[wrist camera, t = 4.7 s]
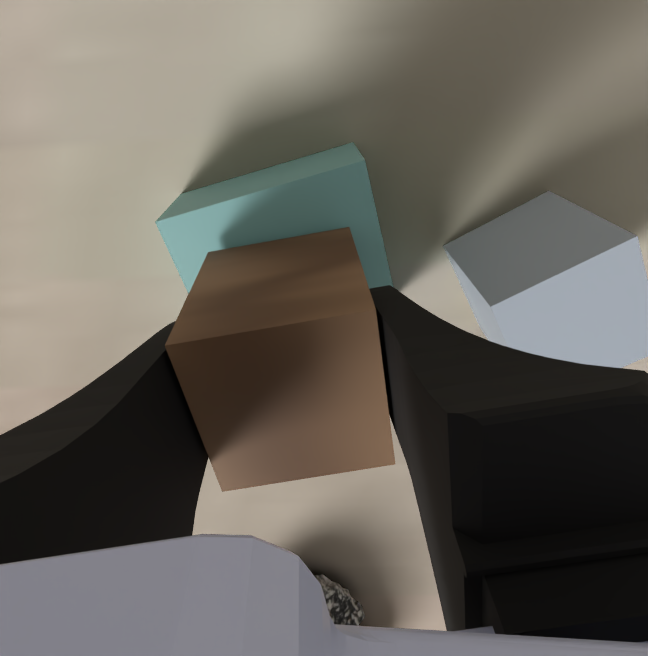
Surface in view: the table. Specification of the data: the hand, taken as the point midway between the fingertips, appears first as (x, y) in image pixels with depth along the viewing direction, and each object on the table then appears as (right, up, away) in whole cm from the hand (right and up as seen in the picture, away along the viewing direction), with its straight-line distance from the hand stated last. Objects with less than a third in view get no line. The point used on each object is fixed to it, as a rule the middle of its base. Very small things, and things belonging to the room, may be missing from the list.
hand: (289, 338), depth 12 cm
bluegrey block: (+8, +3, +6) cm, 10 cm away
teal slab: (0, +3, +6) cm, 6 cm away
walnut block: (0, +1, +2) cm, 3 cm away
